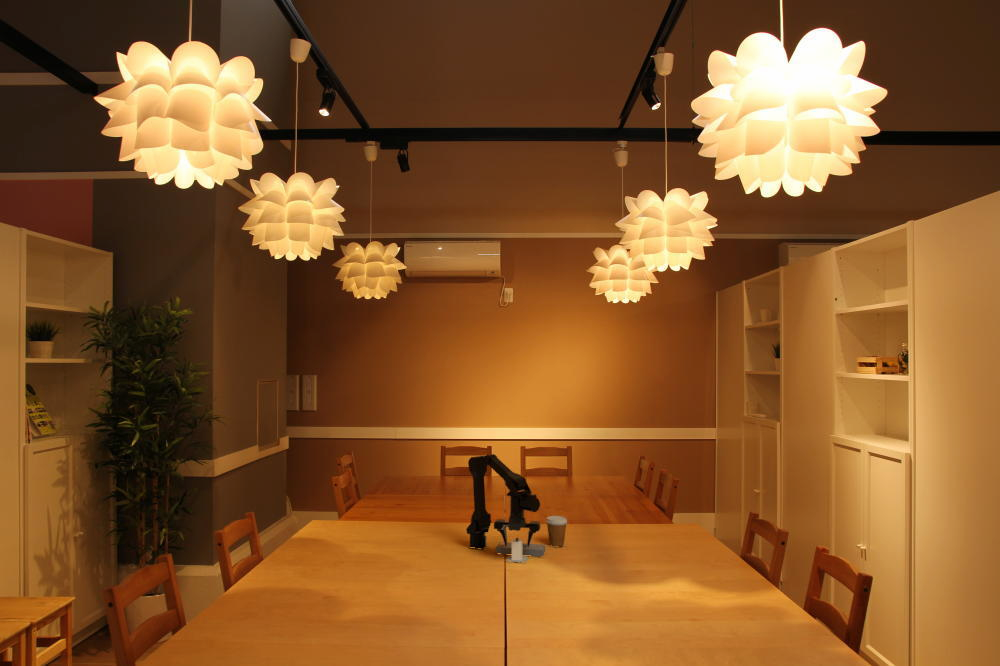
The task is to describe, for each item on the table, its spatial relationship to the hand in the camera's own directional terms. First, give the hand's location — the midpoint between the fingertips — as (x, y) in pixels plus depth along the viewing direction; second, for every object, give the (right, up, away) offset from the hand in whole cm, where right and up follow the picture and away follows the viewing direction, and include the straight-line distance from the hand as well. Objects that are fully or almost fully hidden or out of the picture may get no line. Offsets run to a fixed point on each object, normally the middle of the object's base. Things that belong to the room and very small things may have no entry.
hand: (517, 546), depth 251 cm
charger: (0, -5, 0) cm, 5 cm away
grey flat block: (+2, -6, +9) cm, 11 cm away
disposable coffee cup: (+18, -7, +21) cm, 28 cm away
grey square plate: (0, -6, 0) cm, 6 cm away
